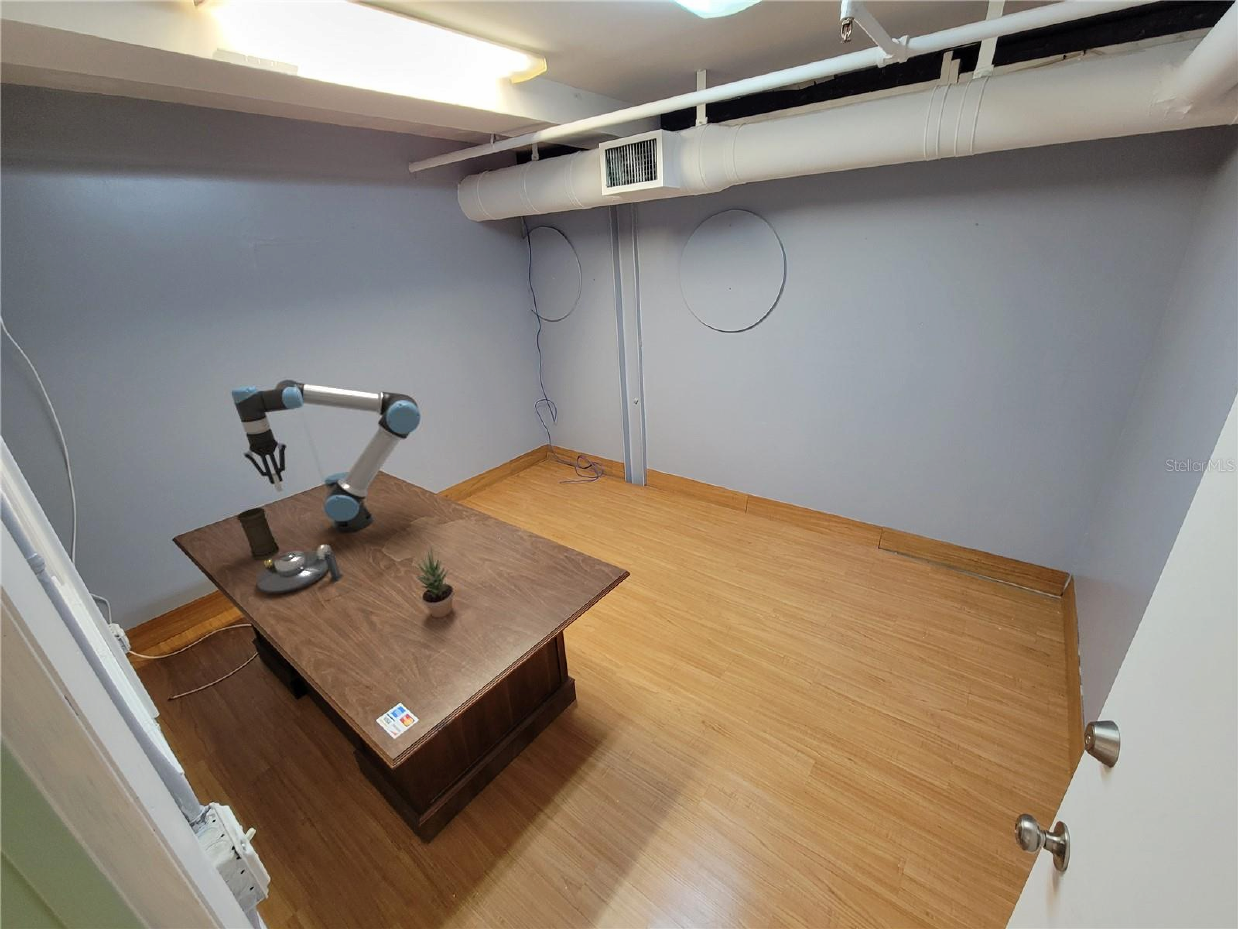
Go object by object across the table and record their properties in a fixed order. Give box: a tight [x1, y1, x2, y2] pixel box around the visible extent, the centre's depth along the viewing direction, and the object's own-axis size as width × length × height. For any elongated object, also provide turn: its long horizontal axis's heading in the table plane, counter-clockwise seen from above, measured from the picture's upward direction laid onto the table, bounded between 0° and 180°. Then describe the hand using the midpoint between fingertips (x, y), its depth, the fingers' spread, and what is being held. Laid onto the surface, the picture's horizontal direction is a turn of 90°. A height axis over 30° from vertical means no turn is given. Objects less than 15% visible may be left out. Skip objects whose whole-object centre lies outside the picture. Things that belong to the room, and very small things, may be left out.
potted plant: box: [415, 544, 455, 618], centre depth 153 cm, size 10×10×25 cm
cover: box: [273, 550, 308, 578], centre depth 175 cm, size 9×9×6 cm
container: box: [237, 507, 280, 560], centre depth 190 cm, size 9×9×18 cm
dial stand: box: [316, 544, 344, 582], centre depth 174 cm, size 4×5×14 cm
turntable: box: [256, 551, 329, 595], centre depth 176 cm, size 22×22×5 cm
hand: (279, 490), depth 184 cm, fingers closed
